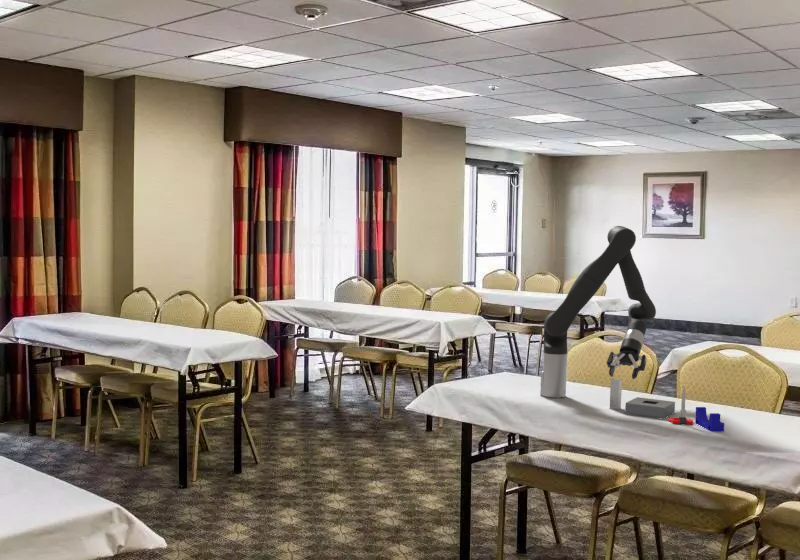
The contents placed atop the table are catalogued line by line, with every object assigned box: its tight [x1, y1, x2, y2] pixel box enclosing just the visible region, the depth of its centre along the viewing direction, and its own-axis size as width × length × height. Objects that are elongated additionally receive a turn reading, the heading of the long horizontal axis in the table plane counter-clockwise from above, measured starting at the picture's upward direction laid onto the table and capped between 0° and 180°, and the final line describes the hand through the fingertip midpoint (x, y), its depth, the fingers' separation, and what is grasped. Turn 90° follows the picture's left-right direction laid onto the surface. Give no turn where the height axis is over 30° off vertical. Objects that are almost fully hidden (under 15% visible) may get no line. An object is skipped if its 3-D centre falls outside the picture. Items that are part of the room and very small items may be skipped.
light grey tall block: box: [609, 377, 623, 411], centre depth 324 cm, size 3×3×11 cm
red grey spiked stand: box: [667, 386, 694, 426], centre depth 304 cm, size 8×13×9 cm
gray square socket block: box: [624, 396, 676, 420], centre depth 317 cm, size 14×14×4 cm
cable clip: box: [694, 406, 725, 433], centre depth 296 cm, size 12×4×6 cm, turn 6°
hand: (622, 376), depth 329 cm, fingers open, 8 cm apart
